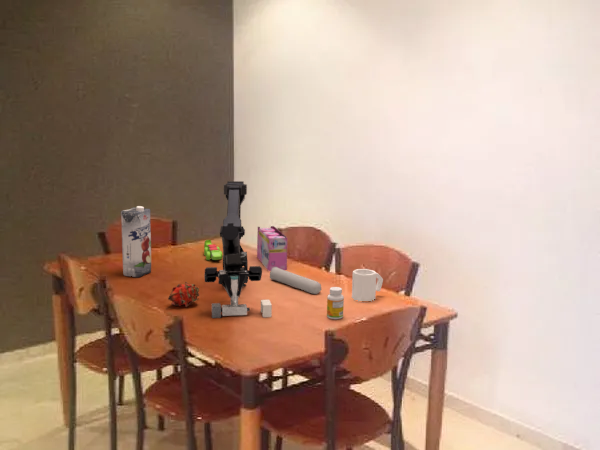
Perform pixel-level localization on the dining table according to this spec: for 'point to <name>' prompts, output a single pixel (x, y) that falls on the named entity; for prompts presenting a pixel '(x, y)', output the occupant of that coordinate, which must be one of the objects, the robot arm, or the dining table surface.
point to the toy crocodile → (212, 251)
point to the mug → (365, 284)
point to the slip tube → (234, 300)
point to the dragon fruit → (184, 294)
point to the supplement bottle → (335, 303)
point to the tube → (295, 280)
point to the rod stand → (218, 310)
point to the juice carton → (136, 241)
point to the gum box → (272, 248)
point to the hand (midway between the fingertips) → (234, 296)
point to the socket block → (266, 308)
